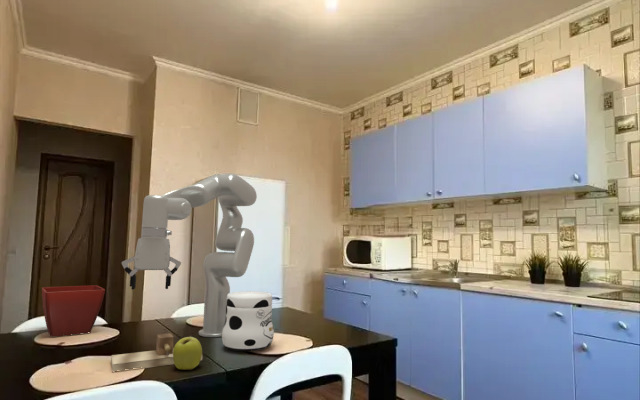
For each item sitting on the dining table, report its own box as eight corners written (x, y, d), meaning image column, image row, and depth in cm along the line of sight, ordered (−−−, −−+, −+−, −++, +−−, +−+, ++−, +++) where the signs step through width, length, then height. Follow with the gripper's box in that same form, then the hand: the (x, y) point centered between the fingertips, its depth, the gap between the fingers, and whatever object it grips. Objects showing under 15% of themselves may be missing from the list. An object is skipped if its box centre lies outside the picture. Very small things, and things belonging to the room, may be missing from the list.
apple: (192, 357, 116) (198, 326, 115) (203, 372, 110) (209, 339, 109) (165, 362, 111) (171, 330, 110) (175, 378, 105) (181, 344, 104)
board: (194, 352, 126) (194, 345, 126) (202, 360, 117) (202, 353, 117) (110, 362, 113) (111, 355, 114) (112, 372, 105) (113, 364, 105)
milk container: (281, 351, 128) (282, 295, 130) (229, 358, 120) (232, 298, 122) (262, 339, 143) (264, 290, 145) (215, 344, 135) (218, 292, 137)
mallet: (169, 349, 120) (170, 333, 121) (175, 357, 112) (176, 340, 113) (155, 351, 118) (156, 334, 119) (160, 359, 110) (161, 341, 111)
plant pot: (93, 325, 163) (96, 284, 164) (102, 334, 148) (105, 289, 150) (37, 331, 151) (41, 287, 153) (40, 341, 136) (45, 292, 138)
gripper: (183, 235, 129) (179, 287, 127) (126, 233, 124) (121, 287, 122) (182, 234, 122) (179, 289, 120) (122, 232, 117) (117, 290, 115)
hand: (150, 288), depth 121 cm, fingers open, 9 cm apart
